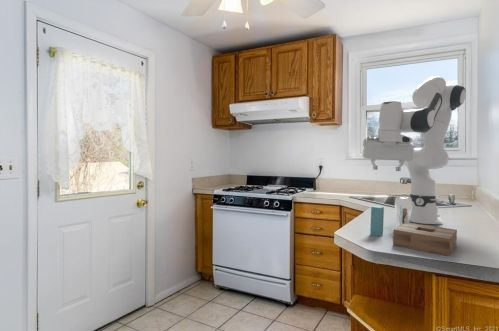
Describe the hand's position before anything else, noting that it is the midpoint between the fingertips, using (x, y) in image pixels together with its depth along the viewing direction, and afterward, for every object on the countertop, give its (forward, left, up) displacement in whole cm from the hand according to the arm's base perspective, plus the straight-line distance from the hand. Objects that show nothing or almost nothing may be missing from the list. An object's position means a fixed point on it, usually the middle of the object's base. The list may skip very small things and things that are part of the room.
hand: (386, 170), depth 131 cm
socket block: (+6, +17, -28) cm, 33 cm away
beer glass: (-14, +4, -28) cm, 32 cm away
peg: (+3, -2, -28) cm, 28 cm away
